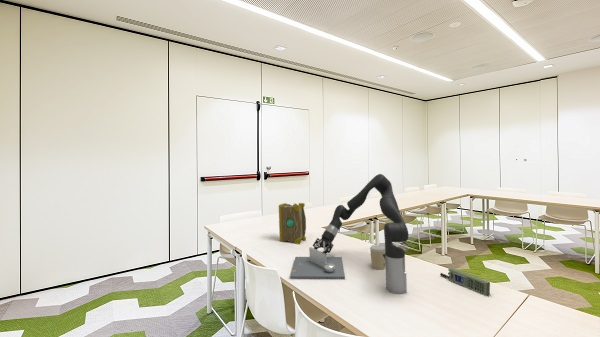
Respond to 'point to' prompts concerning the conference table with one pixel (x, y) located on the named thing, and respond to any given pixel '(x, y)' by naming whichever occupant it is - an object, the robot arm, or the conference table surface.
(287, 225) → the decorative book
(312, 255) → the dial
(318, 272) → the dial plate
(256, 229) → the conference table surface
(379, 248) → the coffee cup
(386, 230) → the robot arm
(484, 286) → the handheld radio
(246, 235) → the conference table surface
